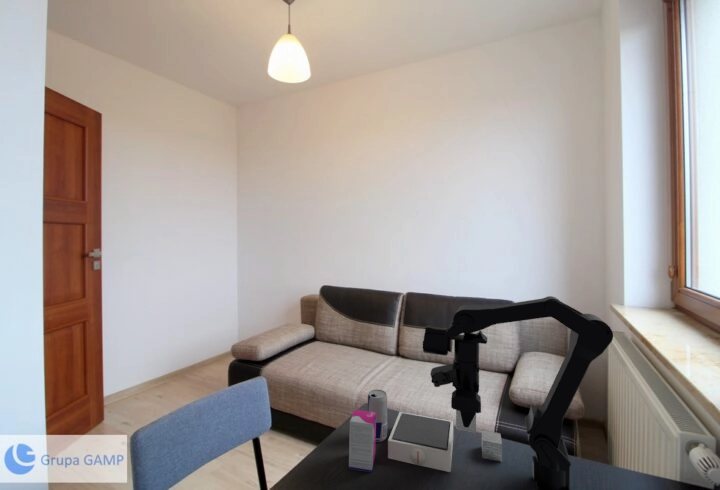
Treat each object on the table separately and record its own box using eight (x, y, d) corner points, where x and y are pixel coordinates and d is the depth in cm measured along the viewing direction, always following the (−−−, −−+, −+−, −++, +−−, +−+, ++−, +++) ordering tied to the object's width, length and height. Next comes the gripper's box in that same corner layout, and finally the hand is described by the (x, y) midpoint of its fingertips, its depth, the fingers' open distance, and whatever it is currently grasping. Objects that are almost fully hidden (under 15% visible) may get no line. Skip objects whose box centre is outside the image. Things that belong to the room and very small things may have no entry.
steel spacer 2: (500, 450, 83) (500, 433, 82) (501, 462, 78) (502, 444, 78) (481, 447, 84) (481, 430, 84) (482, 458, 80) (482, 440, 80)
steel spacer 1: (475, 422, 80) (475, 404, 80) (475, 432, 75) (476, 414, 75) (456, 419, 81) (456, 401, 81) (456, 429, 77) (456, 410, 77)
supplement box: (372, 472, 75) (372, 424, 75) (348, 469, 76) (348, 421, 76) (376, 456, 80) (376, 411, 80) (353, 453, 82) (353, 408, 81)
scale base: (453, 437, 88) (453, 421, 88) (450, 473, 74) (450, 454, 74) (399, 427, 93) (399, 411, 93) (387, 459, 79) (387, 441, 79)
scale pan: (449, 424, 87) (449, 421, 87) (446, 452, 76) (446, 448, 76) (402, 416, 92) (402, 413, 92) (392, 441, 80) (392, 437, 80)
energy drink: (364, 433, 90) (364, 391, 89) (381, 429, 92) (381, 387, 92) (373, 444, 85) (373, 400, 85) (390, 439, 87) (390, 395, 87)
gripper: (436, 343, 89) (436, 398, 90) (428, 368, 72) (428, 437, 72) (478, 347, 86) (478, 405, 86) (481, 375, 68) (480, 447, 68)
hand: (466, 421), depth 78 cm, fingers closed on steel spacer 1, 4 cm apart
